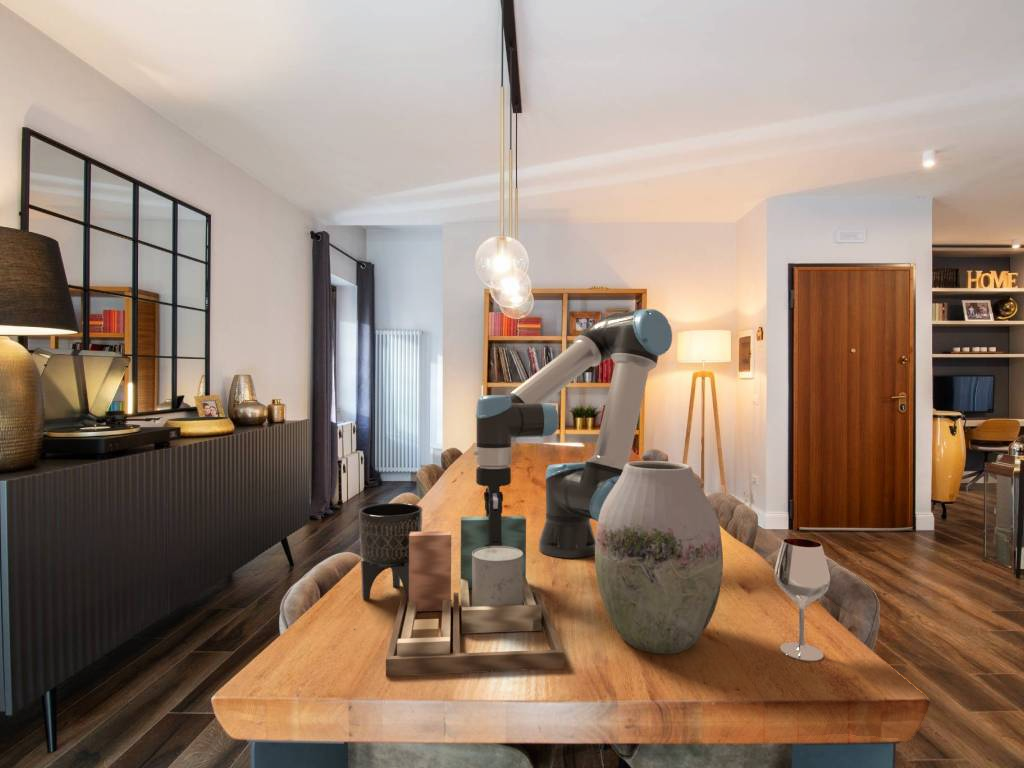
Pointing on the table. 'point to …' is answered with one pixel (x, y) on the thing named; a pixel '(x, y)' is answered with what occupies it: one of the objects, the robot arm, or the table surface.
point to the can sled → (472, 617)
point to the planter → (387, 542)
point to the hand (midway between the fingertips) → (492, 571)
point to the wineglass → (802, 586)
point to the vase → (658, 556)
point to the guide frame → (473, 660)
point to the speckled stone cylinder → (497, 576)
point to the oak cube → (426, 628)
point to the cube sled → (428, 591)
